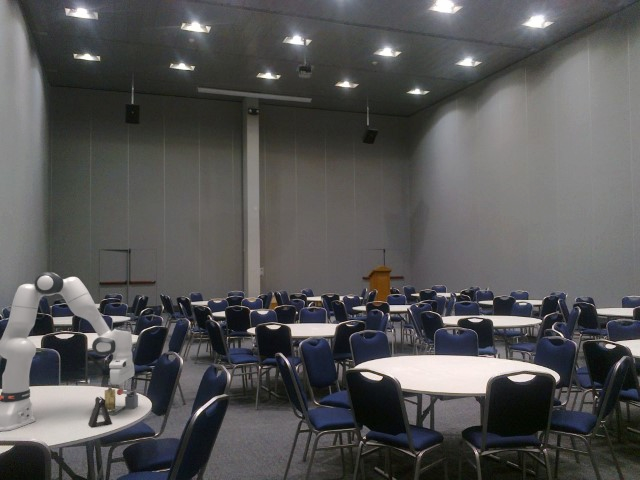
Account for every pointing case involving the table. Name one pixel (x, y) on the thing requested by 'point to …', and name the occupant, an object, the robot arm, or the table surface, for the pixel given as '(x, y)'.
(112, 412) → the press bed
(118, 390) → the press lever
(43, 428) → the table surface
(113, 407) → the gold upright cylinder
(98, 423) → the black triangular frame
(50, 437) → the table surface
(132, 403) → the lever post
